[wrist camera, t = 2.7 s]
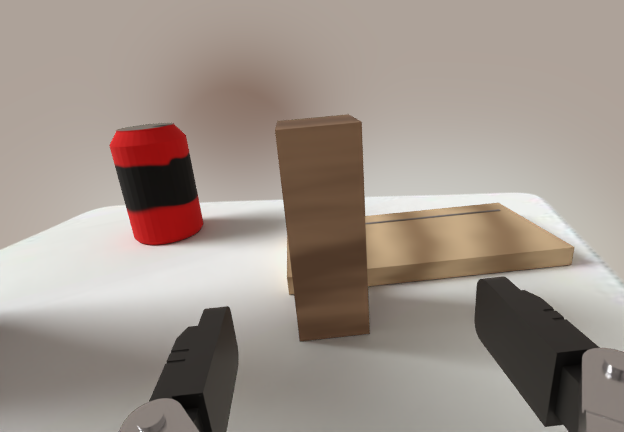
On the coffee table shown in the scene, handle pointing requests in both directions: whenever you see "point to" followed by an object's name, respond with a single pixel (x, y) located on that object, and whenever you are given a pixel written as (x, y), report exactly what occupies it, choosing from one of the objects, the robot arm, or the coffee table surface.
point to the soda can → (157, 182)
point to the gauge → (325, 223)
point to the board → (454, 244)
